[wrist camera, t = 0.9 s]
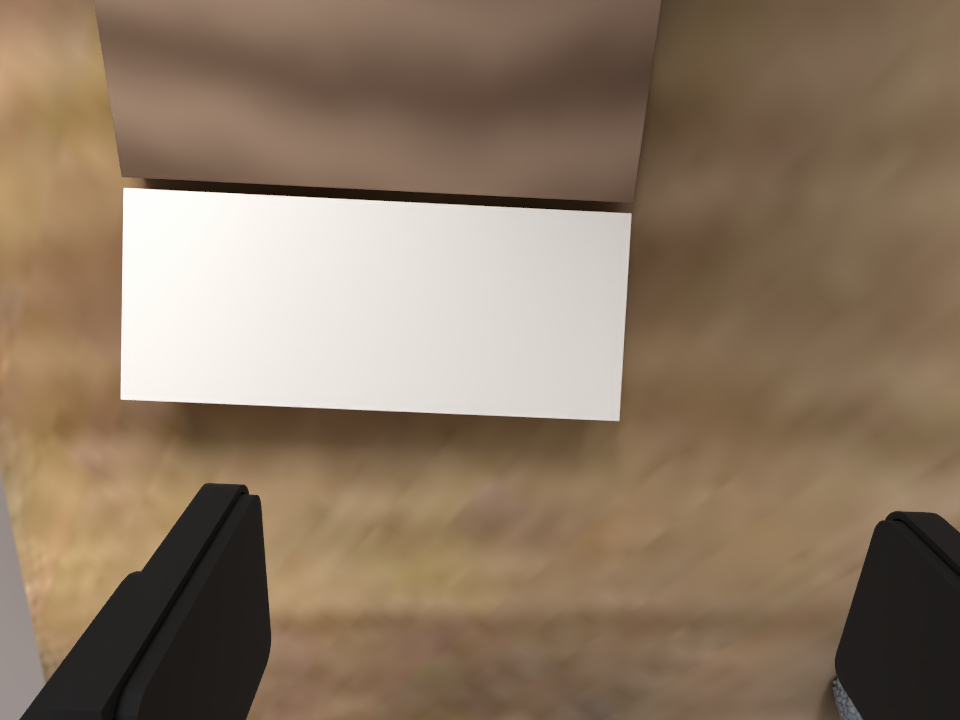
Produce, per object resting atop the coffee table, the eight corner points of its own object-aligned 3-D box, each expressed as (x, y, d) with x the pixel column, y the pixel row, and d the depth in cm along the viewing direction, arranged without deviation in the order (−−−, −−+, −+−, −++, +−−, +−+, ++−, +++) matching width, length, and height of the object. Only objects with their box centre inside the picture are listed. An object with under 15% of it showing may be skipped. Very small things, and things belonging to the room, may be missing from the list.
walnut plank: (106, -66, 29) (82, -75, 27) (655, -34, 30) (667, -41, 28) (141, 170, 33) (122, 176, 31) (624, 195, 34) (633, 202, 32)
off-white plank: (144, 195, 34) (123, 187, 32) (621, 219, 34) (631, 213, 32) (140, 394, 34) (120, 399, 32) (610, 415, 35) (619, 421, 33)
